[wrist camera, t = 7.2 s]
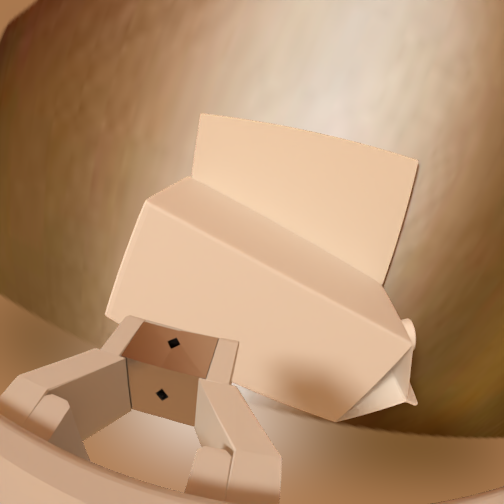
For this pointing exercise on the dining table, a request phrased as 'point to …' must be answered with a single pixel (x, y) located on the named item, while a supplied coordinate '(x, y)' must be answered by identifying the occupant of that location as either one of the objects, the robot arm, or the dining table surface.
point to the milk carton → (266, 303)
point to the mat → (310, 185)
